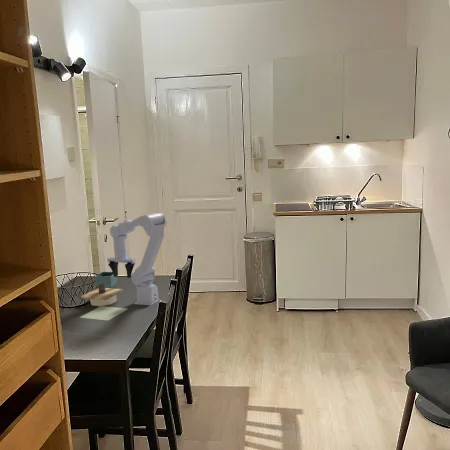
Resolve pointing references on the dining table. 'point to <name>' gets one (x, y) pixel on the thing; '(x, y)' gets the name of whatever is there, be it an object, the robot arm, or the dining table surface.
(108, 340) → the dining table surface
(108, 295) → the lid
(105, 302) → the bowl
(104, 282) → the flower pot
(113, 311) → the mat
